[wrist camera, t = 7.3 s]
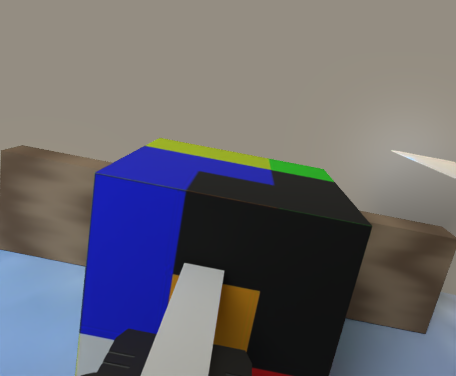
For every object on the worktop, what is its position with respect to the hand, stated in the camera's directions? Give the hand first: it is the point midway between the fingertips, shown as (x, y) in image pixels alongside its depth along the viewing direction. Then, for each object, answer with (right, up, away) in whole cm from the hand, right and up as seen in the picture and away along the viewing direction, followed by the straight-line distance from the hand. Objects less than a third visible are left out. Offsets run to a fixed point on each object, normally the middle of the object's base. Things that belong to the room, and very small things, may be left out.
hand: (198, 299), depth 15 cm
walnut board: (0, -3, +13) cm, 14 cm away
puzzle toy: (0, -5, +7) cm, 8 cm away
